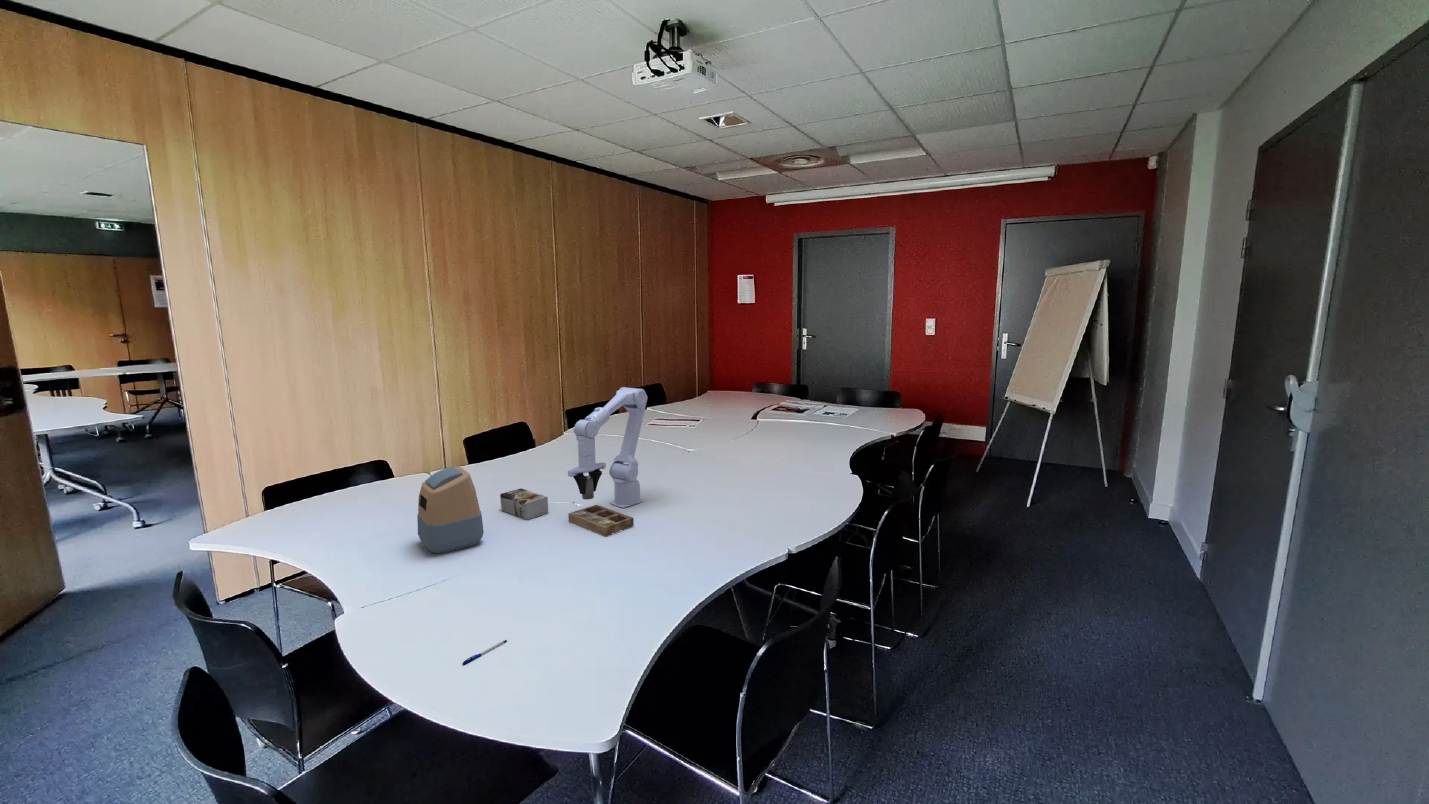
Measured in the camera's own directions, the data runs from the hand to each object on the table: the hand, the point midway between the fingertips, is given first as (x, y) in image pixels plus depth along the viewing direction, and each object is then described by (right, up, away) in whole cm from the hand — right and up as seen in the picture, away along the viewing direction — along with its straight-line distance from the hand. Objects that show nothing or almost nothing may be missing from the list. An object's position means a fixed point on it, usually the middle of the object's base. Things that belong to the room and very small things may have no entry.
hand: (588, 492), depth 199 cm
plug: (0, -2, 0) cm, 2 cm away
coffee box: (-18, -6, +2) cm, 19 cm away
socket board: (+5, -10, -4) cm, 12 cm away
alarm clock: (-38, -13, -21) cm, 45 cm away
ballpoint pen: (-5, -22, -77) cm, 81 cm away
